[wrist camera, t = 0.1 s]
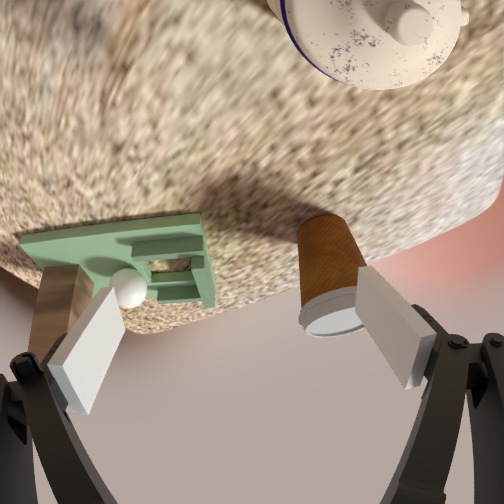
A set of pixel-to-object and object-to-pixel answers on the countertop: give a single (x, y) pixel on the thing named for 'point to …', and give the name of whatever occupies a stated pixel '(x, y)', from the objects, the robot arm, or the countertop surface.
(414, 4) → the teacup with lid
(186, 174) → the countertop surface
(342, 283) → the disposable coffee cup
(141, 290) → the ball
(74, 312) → the walnut block
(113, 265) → the pad
